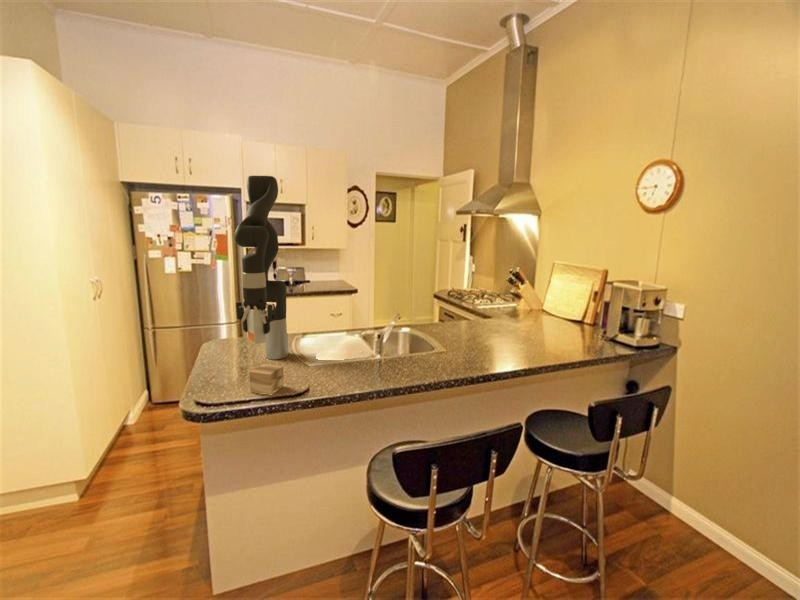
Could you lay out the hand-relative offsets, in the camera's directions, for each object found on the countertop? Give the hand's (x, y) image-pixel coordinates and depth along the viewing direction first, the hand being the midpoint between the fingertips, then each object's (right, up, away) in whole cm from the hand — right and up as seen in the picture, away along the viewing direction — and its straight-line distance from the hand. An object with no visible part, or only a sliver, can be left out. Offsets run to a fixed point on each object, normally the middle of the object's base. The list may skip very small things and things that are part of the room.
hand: (256, 332), depth 138 cm
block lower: (+3, -21, +2) cm, 21 cm away
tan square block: (+3, -17, +2) cm, 17 cm away
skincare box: (0, -4, +1) cm, 4 cm away
